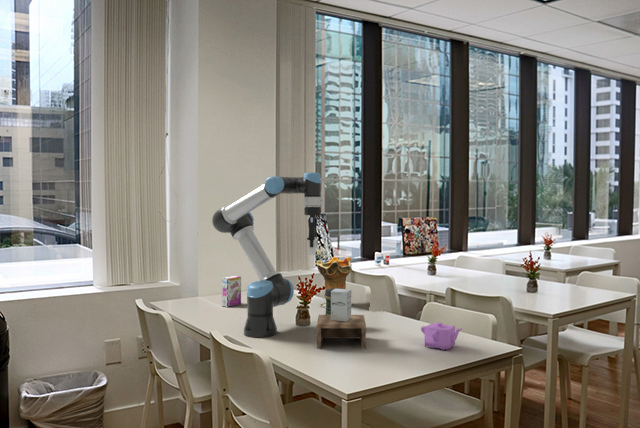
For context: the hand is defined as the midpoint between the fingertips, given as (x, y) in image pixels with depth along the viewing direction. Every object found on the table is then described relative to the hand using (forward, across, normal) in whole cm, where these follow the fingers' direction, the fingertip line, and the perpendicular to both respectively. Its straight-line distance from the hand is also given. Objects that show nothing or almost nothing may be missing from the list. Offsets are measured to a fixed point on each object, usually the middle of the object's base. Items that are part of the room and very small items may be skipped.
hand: (312, 253), depth 249 cm
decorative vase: (+37, +62, -9) cm, 72 cm away
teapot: (+37, -24, -54) cm, 70 cm away
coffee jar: (+37, +11, -10) cm, 40 cm away
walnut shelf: (+36, -17, -13) cm, 42 cm away
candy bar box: (+37, +61, +50) cm, 87 cm away
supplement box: (+27, -17, -13) cm, 34 cm away
